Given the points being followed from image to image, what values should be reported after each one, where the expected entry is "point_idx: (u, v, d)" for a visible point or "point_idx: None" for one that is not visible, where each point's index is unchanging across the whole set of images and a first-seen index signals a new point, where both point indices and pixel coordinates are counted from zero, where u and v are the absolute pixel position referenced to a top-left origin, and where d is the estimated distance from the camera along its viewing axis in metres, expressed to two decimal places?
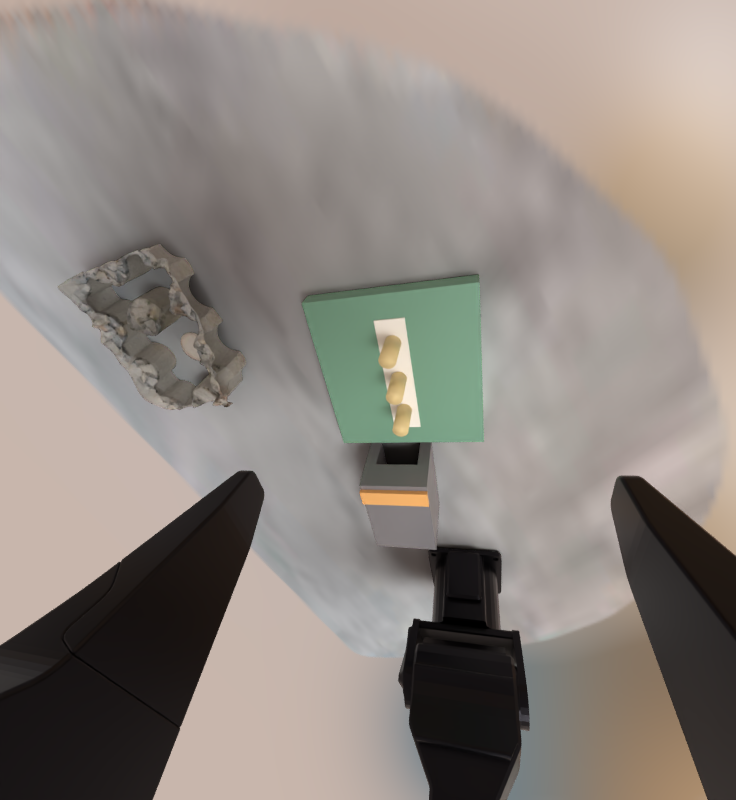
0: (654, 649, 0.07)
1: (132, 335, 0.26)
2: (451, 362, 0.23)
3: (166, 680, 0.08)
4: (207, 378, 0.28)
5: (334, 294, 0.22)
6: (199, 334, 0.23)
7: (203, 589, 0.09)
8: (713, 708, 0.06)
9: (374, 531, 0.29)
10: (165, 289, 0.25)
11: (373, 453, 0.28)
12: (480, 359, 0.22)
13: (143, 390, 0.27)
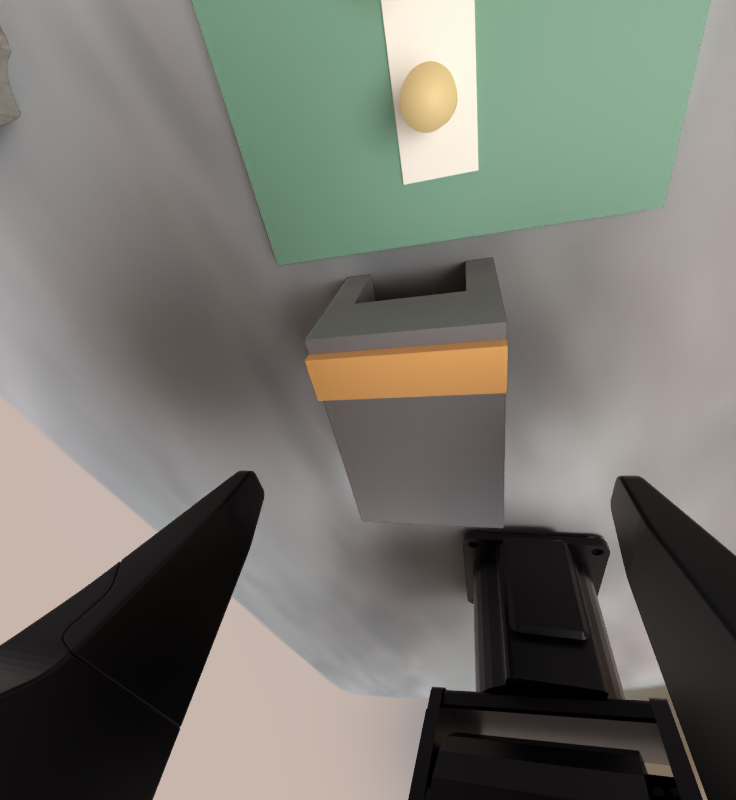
0: (654, 649, 0.07)
1: None
2: None
3: (166, 680, 0.08)
4: None
5: None
6: None
7: (203, 589, 0.09)
8: (713, 708, 0.06)
9: (353, 484, 0.12)
10: None
11: (349, 290, 0.11)
12: None
13: None
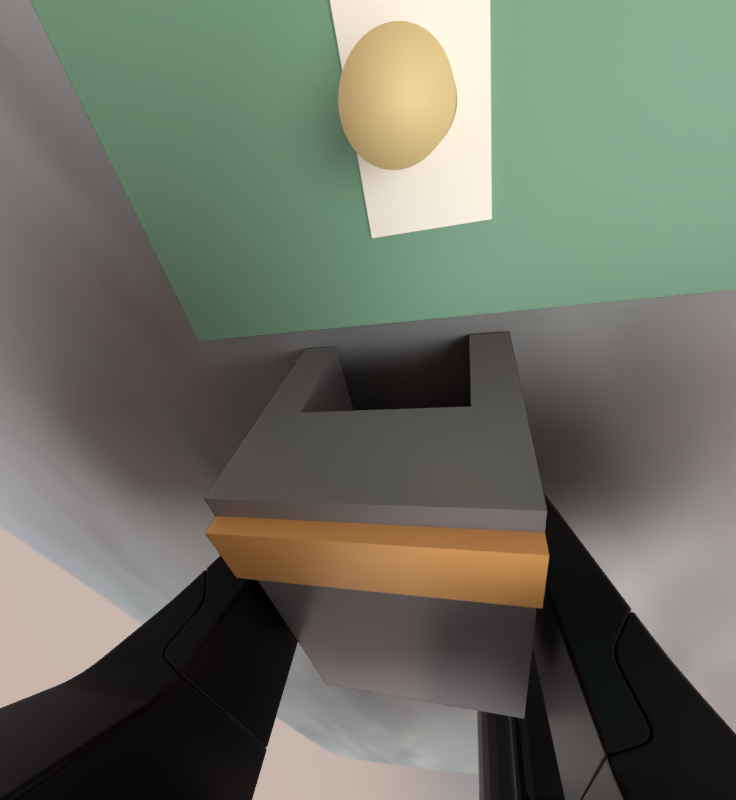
0: None
1: None
2: None
3: (256, 698, 0.07)
4: None
5: None
6: None
7: None
8: (554, 684, 0.06)
9: (309, 652, 0.08)
10: None
11: (300, 379, 0.08)
12: None
13: None
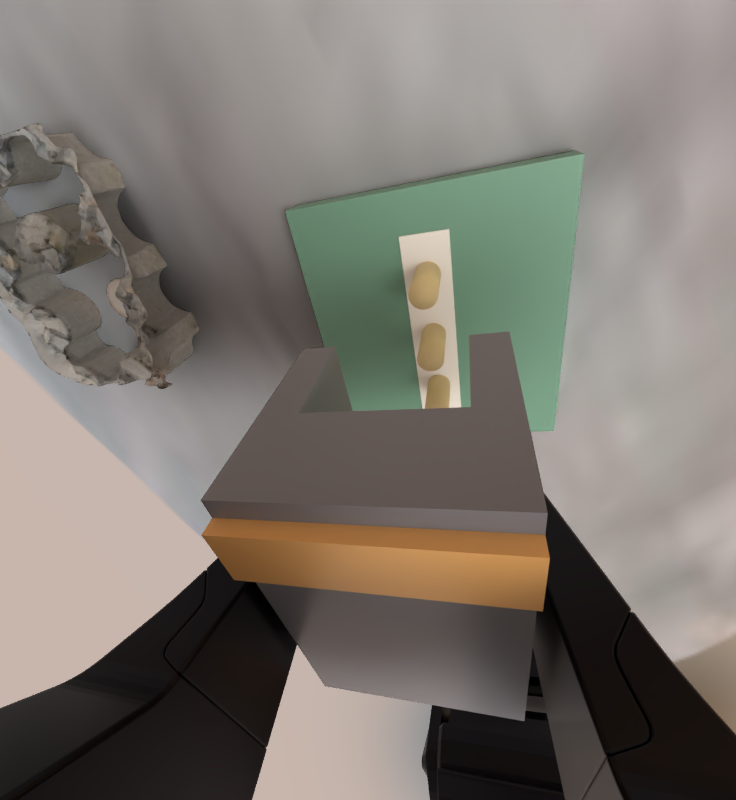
0: None
1: (31, 272, 0.18)
2: (519, 304, 0.14)
3: (256, 698, 0.07)
4: None
5: (336, 198, 0.14)
6: (125, 278, 0.16)
7: None
8: (554, 684, 0.06)
9: (307, 654, 0.08)
10: None
11: (299, 379, 0.08)
12: (566, 298, 0.14)
13: (46, 354, 0.19)
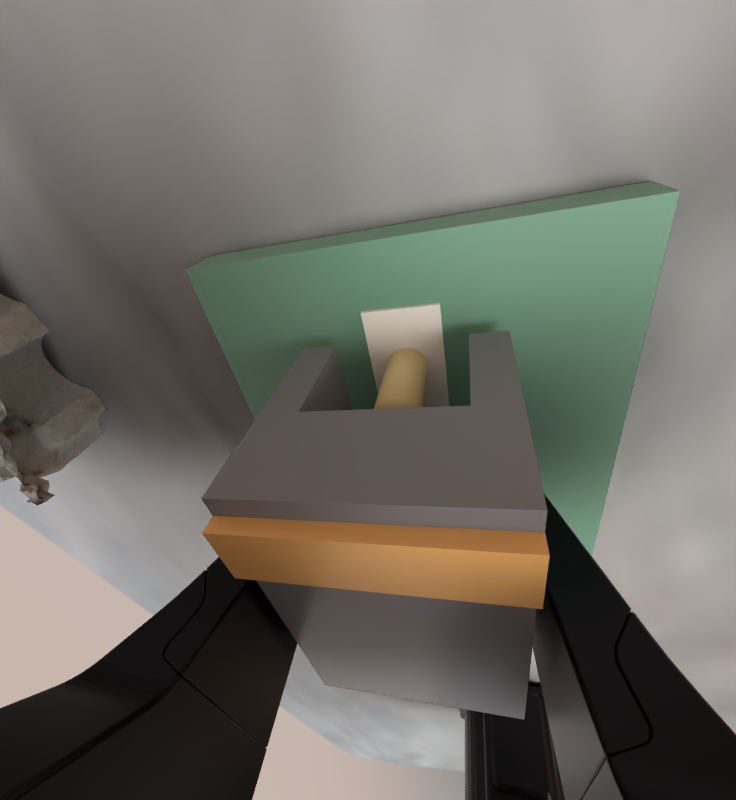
0: None
1: None
2: (549, 411, 0.09)
3: (256, 698, 0.07)
4: None
5: (265, 249, 0.09)
6: None
7: None
8: (553, 684, 0.06)
9: (308, 652, 0.08)
10: None
11: (299, 378, 0.08)
12: (624, 407, 0.09)
13: None
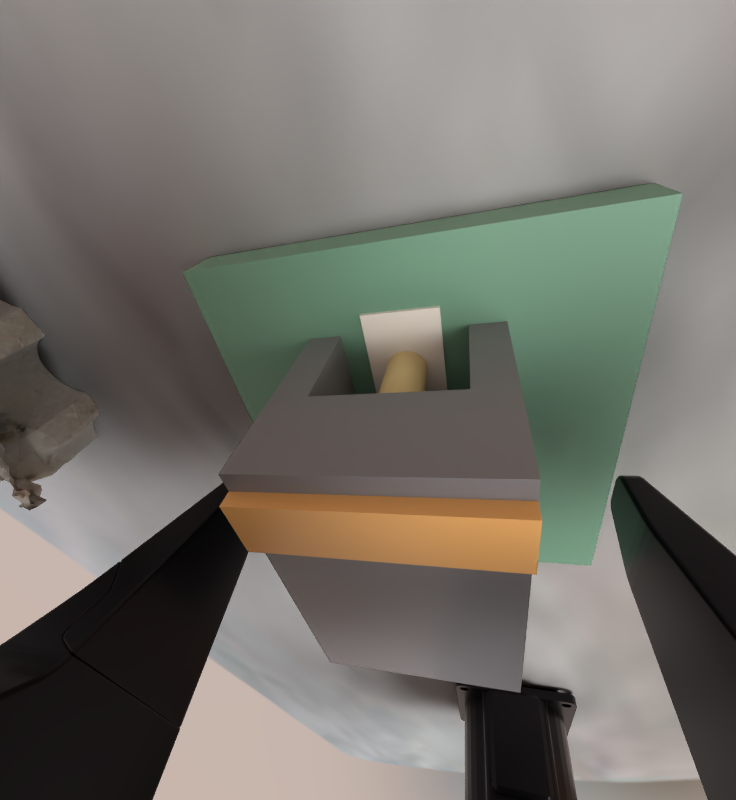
0: (654, 649, 0.07)
1: None
2: (549, 415, 0.09)
3: (166, 680, 0.08)
4: None
5: (263, 251, 0.09)
6: None
7: (203, 589, 0.09)
8: (713, 708, 0.06)
9: (314, 629, 0.09)
10: None
11: (307, 366, 0.08)
12: (626, 411, 0.09)
13: None
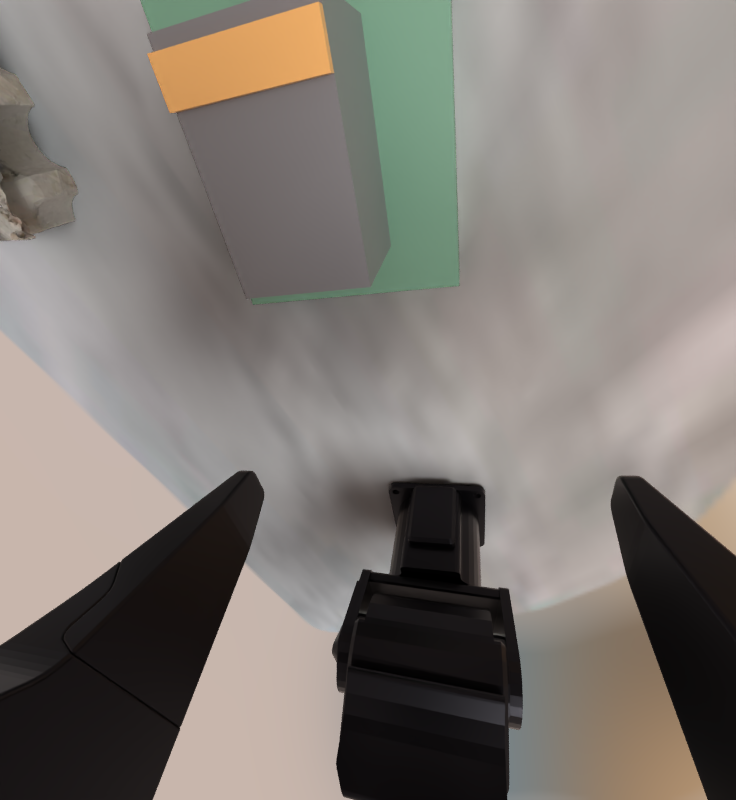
0: (654, 649, 0.07)
1: None
2: (403, 110, 0.13)
3: (166, 680, 0.08)
4: None
5: None
6: None
7: (203, 589, 0.09)
8: (713, 708, 0.06)
9: (229, 244, 0.12)
10: None
11: None
12: (451, 98, 0.13)
13: None
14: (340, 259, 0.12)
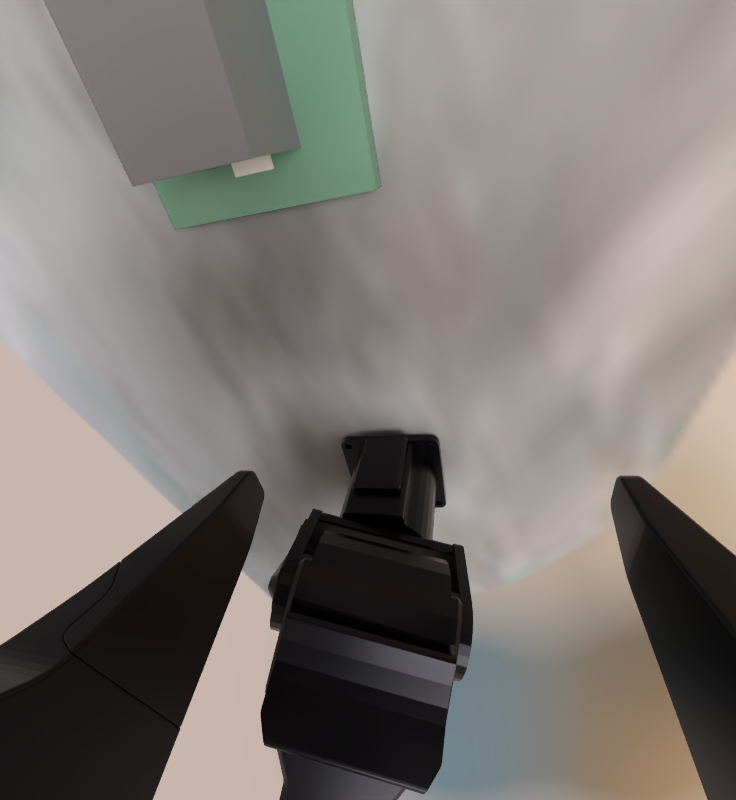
0: (654, 649, 0.07)
1: None
2: None
3: (166, 680, 0.08)
4: None
5: None
6: None
7: (203, 589, 0.09)
8: (713, 708, 0.06)
9: (103, 118, 0.12)
10: None
11: None
12: None
13: None
14: (215, 125, 0.11)
